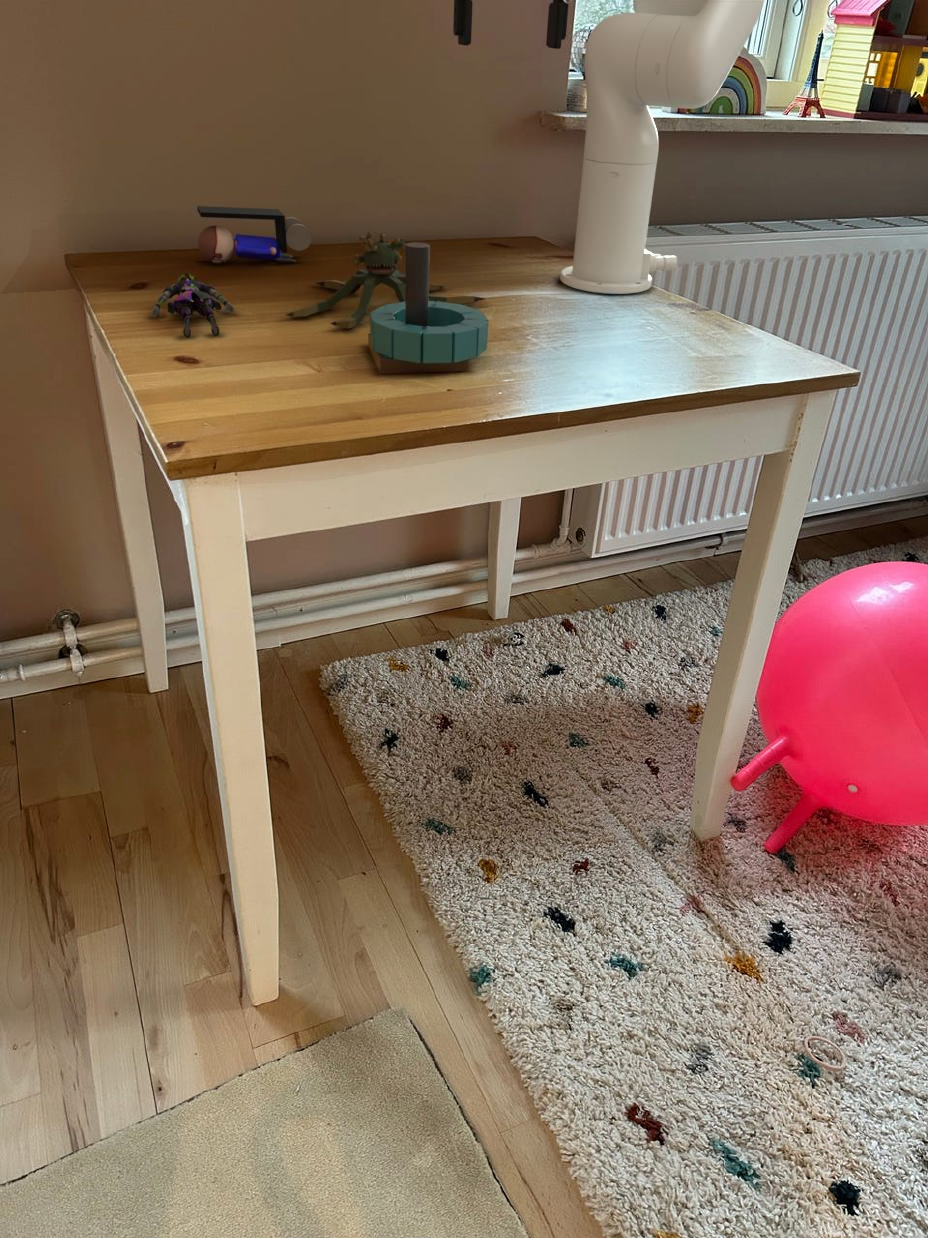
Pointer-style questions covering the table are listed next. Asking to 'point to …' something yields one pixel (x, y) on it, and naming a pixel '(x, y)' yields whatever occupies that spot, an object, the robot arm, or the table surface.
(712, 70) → the robot arm
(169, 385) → the table surface
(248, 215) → the figurine character
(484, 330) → the ring
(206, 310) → the character figure
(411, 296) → the stand
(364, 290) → the octopus toy
